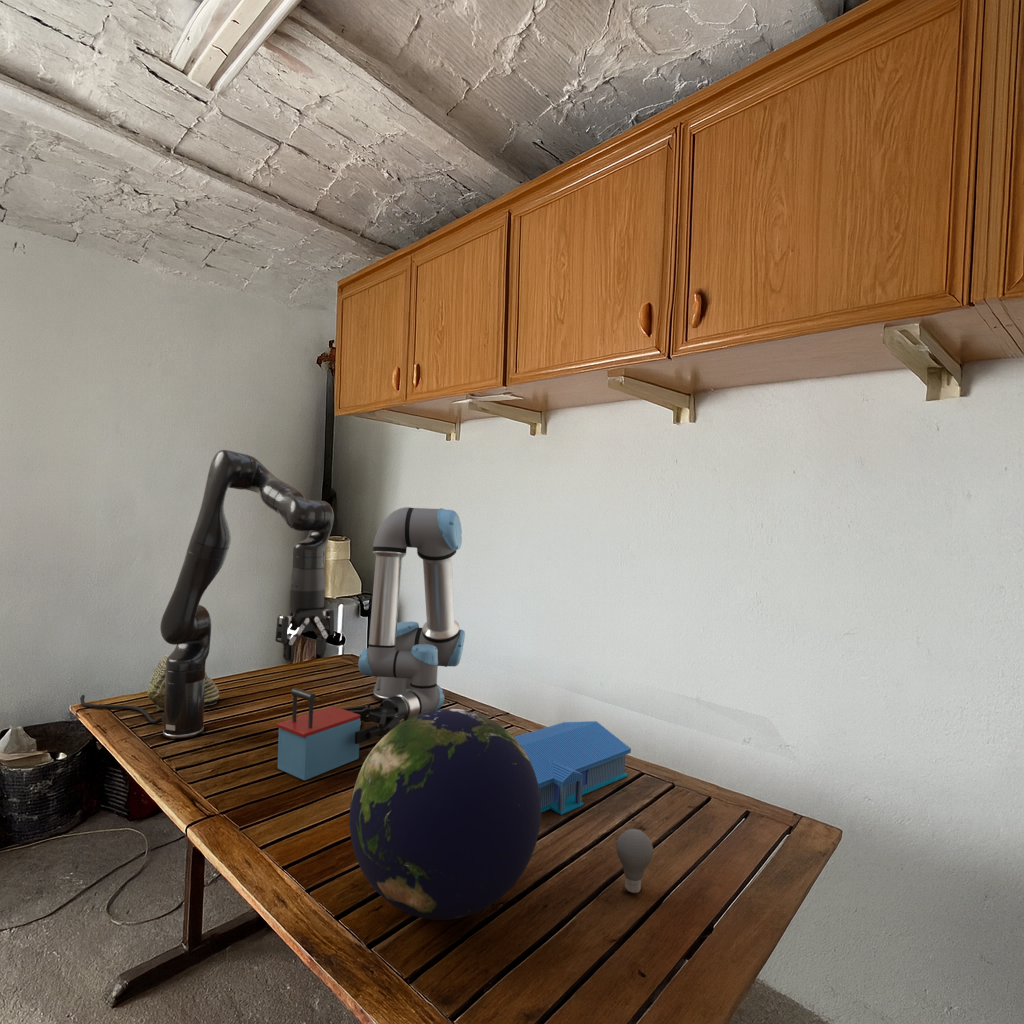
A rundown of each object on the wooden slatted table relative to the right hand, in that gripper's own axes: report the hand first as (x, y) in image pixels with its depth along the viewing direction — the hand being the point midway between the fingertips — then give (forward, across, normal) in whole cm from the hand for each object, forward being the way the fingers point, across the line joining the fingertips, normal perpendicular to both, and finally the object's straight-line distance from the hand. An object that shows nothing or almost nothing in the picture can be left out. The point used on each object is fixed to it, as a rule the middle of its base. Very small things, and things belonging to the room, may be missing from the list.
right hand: (336, 731), depth 154 cm
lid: (+5, 0, +3) cm, 6 cm away
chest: (+5, 0, -6) cm, 8 cm away
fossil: (+4, +61, -6) cm, 62 cm away
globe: (+26, -56, -6) cm, 63 cm away
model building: (-20, -47, -6) cm, 52 cm away
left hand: (+10, 0, +20) cm, 22 cm away
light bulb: (+4, -79, -6) cm, 80 cm away
